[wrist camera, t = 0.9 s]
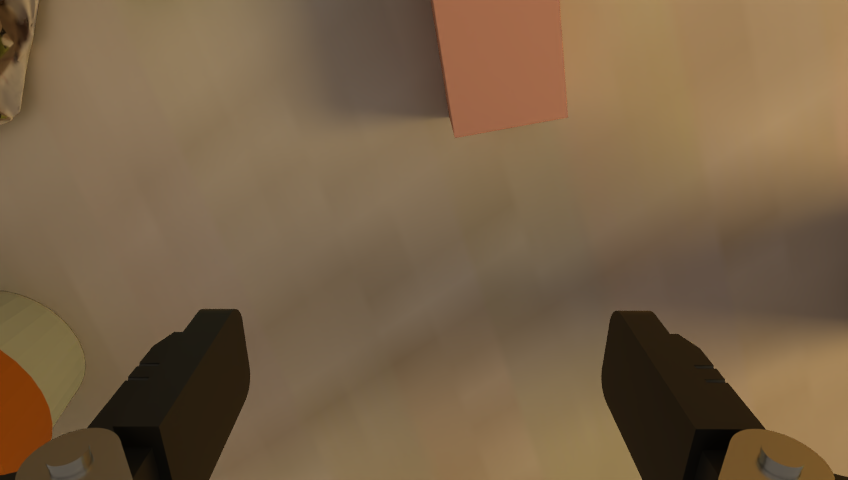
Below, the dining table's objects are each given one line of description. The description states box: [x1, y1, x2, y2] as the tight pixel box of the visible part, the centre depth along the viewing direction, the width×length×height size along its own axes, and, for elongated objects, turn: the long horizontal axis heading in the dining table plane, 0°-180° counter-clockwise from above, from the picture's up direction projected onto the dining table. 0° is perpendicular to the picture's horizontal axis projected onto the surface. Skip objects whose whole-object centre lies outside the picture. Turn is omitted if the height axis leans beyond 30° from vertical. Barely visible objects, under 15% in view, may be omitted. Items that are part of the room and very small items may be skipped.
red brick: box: [431, 0, 568, 138], centre depth 24 cm, size 5×7×5 cm
